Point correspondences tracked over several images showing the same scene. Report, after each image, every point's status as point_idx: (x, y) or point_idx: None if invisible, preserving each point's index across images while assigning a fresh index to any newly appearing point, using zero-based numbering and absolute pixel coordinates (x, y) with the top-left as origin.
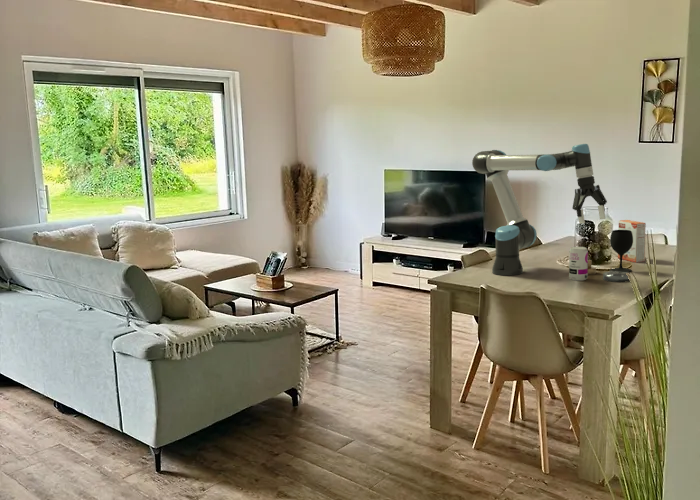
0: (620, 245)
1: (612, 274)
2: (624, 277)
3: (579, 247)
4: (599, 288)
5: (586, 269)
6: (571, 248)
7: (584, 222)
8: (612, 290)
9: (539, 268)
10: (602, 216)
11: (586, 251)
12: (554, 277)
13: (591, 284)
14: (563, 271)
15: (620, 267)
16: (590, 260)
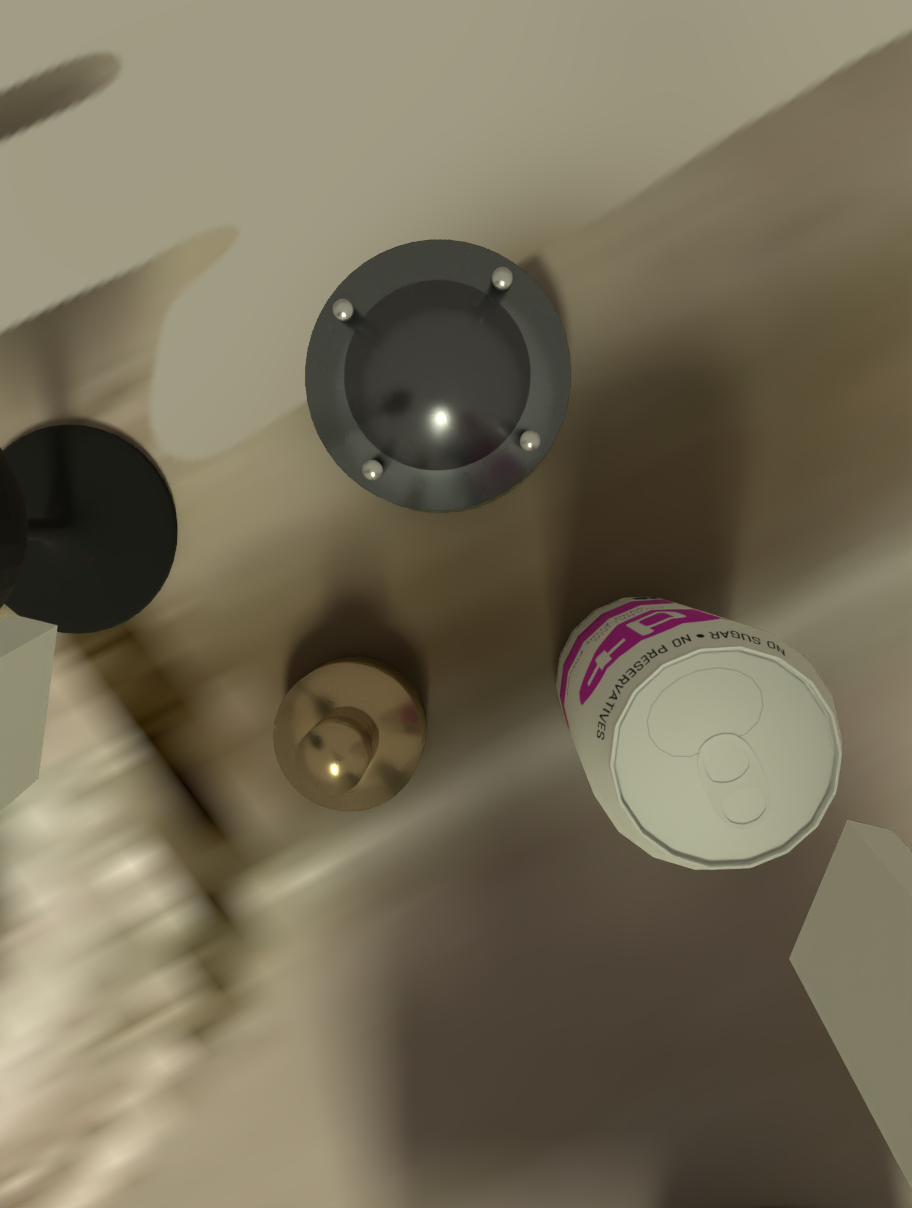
0: (2, 469)
1: (494, 393)
2: (506, 260)
3: (644, 786)
4: (884, 333)
5: (659, 603)
6: (815, 828)
7: (871, 832)
8: (889, 200)
9: (435, 1197)
10: (7, 708)
11: (717, 626)
12: (708, 887)
13: (776, 470)
14: (421, 949)
15: (71, 525)
16: (327, 735)
